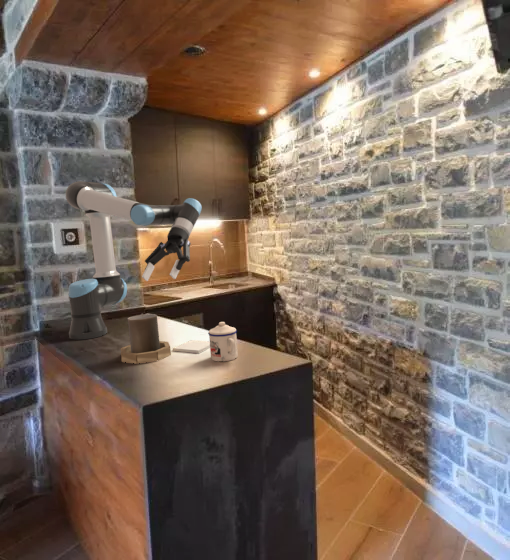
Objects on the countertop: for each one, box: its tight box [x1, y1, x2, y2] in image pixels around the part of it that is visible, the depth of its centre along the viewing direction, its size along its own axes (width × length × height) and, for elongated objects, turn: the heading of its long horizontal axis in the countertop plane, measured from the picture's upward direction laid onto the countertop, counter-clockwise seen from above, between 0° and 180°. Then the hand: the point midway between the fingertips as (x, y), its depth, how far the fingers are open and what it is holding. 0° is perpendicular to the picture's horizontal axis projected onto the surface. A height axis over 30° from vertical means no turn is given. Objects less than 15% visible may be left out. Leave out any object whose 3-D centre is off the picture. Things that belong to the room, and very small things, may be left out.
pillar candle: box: [127, 312, 161, 353], centre depth 147 cm, size 10×10×15 cm
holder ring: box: [120, 340, 172, 365], centre depth 147 cm, size 16×16×3 cm
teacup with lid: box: [208, 321, 239, 362], centre depth 138 cm, size 12×9×12 cm
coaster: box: [172, 339, 210, 354], centre depth 154 cm, size 11×11×1 cm
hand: (158, 277), depth 154 cm, fingers open, 13 cm apart
